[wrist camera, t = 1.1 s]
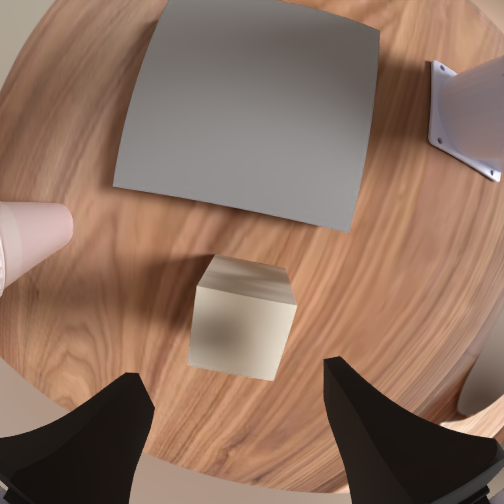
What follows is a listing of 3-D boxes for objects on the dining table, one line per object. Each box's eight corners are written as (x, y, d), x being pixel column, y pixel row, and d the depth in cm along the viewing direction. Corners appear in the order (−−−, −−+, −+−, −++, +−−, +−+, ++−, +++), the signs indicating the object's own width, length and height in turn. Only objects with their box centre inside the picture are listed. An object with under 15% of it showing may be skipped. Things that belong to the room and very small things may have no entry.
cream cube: (285, 268, 18) (297, 305, 13) (269, 328, 20) (273, 380, 14) (215, 253, 18) (196, 285, 12) (205, 316, 19) (187, 364, 14)
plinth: (365, 47, 14) (379, 30, 11) (334, 225, 18) (349, 233, 15) (181, 15, 14) (171, -5, 11) (133, 185, 17) (112, 186, 14)
